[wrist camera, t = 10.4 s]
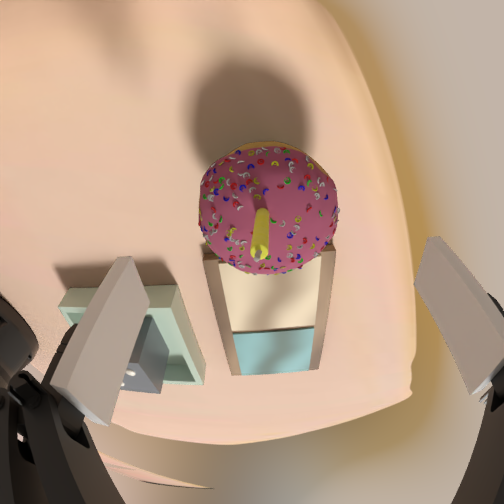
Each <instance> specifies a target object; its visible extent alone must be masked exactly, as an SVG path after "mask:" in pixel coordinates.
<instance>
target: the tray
mask: <svg viewBox="0 0 504 504" xmlns="http://www.w3.org/2000/svg"><path fill="white" fill-rule="evenodd" d="M98 288H99V287H95V288H69V290H68V291H67V293H66V294H65V296H64V297H63V299H62V301H61V302H60V304H59V305H58V308H59V309H60V311H61V313H62V314H63V316H64V317H65V319H66V320H67V322H68V324H69V325H70V327H71V326H72V325H73V324H74V323H77V324H78V323H79V321H80V320H81V318H82V316H83V314H84V312H85V310H86V309H87V307H88V305H89V303H90V302H91V300H92V298H93V296H94V295H95V293H96V291H97V290H98ZM144 289H145V291H146V294H147V296H148V298H149V301H150V304H149V307H148V310H147V312H146V315H145V317H153V318H154V320H155V323H156V325H157V327H158V329H159V331H160V333H161V335H162V337H163V339H164V341H165V343H166V345H167V347H168V349H169V351H170V352H169V356H168V361H167V365H166V370H165V374H164V379H163V383H165V384H184V385H204V378H205V369H206V363H205V361H204V358H203V356H202V353H201V350H200V348H199V345H198V342H197V340H196V337H195V334H194V332H193V329H192V326H191V323H190V320H189V317H188V315H187V312H186V309H185V306H184V303H183V300H182V297H181V294H180V291H179V287H178V285H156V286H144Z"/></svg>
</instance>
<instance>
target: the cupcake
mask: <svg viewBox="0 0 504 504" xmlns="http://www.w3.org/2000/svg"><path fill="white" fill-rule="evenodd" d="M336 191H337V190H336V187H335V184H334V182H333V180H332V179H331V178H330V176H329V175H328V174H327V173H326V171H325V170H324V169H323V168H322V167H321V166H320V165H319V164H318V163H317V162H316V161H315V160H313V159H312V158H311V157H310V156H308V155H307V154H306V153H304V152H303V151H301V150H299V149H297V148H295V147H293V146H290V145H288V144H284V143H280V142H274V141H266V142H254V143H247V144H244V145H242V146H240V147H239V148H237V149H235V150H233V151H232V152H230V153H229V154H228V155H226V156H225V157H223V158H221V159H219V160H217V161H216V162H214V163H213V164H212V165H211V166H210V168H209V169H208V170H207V172H206V173H205V175H204V176H203V179H202V181H201V185H200V198H199V223H198V225H199V226H200V228H201V231H202V232H203V237H205V239H206V245H207V244H208V246H209V247H210V249H211V250H212V251H213V252H215V253H216V254H215V255H216V256H218V257H219V259H220V260H222V261H223V260H224V261H225V262H227V263H228V264H229V265H231V266H233V267H235V268H236V269H238V270H240V271H243V272H245V273H246V274H250V273H252V274H253V275H257V274H267V275H269V274H274V275H278V274H279V273H280V274H281V273H283V274H285V273H286V272H290V271H292V270H294V269H296V268H298V269H302V268H301V267H302V266H303V265H304V264H306V263H307V262H309V261H311V260H312V259H313V258H316V257H317V256H318V255H319V253H320V252H321V251H322V250H323V249H324V247H325V246H326V245H327V244H328V242H329V241H330V239H331V238H332V237H333V235H334V233H335V231H336V227H337V222H338V221H339V220H338V213H339V212H340V209H339V208H338V202H337V192H336ZM338 210H339V211H338ZM284 272H285V273H284Z"/></svg>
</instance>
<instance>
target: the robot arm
mask: <svg viewBox="0 0 504 504" xmlns="http://www.w3.org/2000/svg"><path fill="white" fill-rule="evenodd" d="M414 286H415V287H416V289H417V290H418V292H419V294H420V296H421V297H422V299H423V301H424V303H425V304H426V306H427V308H428V310H429V311H430V313H431V315H432V317H433V319H434V320H435V322H436V324H437V326H438V328H439V330H440V332H441V334H442V335H443V338H444V339H445V341H446V343H447V345H448V347H449V349H450V352H451V354H452V356H453V358H454V360H455V362H456V364H457V366H458V369H459V371H460V373H461V375H462V378H463V380H464V382H465V385H466V387H467V390H468V392H469V394H470V395H472V394H474V393H476V392H479V391H481V390H482V389H484V388H485V387H486V385H487V384H488V383H489V382H490V381H491V382H492V385H493V386H492V387H491V388H490V389H489V390H488V391H487V392H486V393H485V394H484V395H483V396H482V397H481V398H480V401H479V402H482V401H483V400H484V399H485V398H486V397H487V396H488V398H487V400H486V401H485V402H484V404H486V408H485V412H484V416H483V420H482V424H481V428H480V431H479V435H478V438H477V441H476V444H475V447H474V450H473V453H472V456H471V459H470V462H469V465H468V467H467V470H466V472H465V475H464V477H463V480H462V482H461V484H460V487H459V489H458V491H457V493H456V495H455V497H454V499H453V501H452V503H451V504H504V311H503V308H502V307H501V306H500V304H499V303H498V302H497V300H496V299H495V298H494V297H492V296H491V295H490V294H489V293H486V291H485V290H484V289H483V287H482V286H481V285H480V283H479V282H478V281H477V280H476V279H475V277H474V276H473V274H472V273H471V272H470V271H469V270H468V268H467V267H466V266H465V265H464V263H463V262H462V261H461V260H460V259H459V258H458V256H457V255H456V254H455V253H454V252H453V250H452V249H451V248H450V247H449V246H448V245H447V244H446V243H445V242H444V241H443V239H442V238H441V237H440V236H439V237H428V238H427V241H426V245H425V249H424V252H423V256H422V260H421V263H420V266H419V269H418V272H417V276H416V279H415V282H414ZM149 304H150V301H149V298H148V296H147V294H146V291H145V289H144V286H143V284H142V281H141V279H140V276H139V274H138V271H137V268H136V266H135V263H134V260H133V258H132V256H127V257H117V259H116V261H115V262H114V264H113V265H112V267H111V268H110V270H109V272H108V273H107V275H106V276H105V278H104V280H103V281H102V283H101V285H100V286H99V288H98V290H97V291H96V293H95V295H94V296H93V298H92V300H91V302H90V303H89V305H88V307H87V309H86V310H85V312H84V314H83V316H82V318H81V320H80V321H79V323H78V324H77V323H74V324H73V325H72V326H71V327H70V329H69V330H68V331H67V332H66V333H65V335H64V337H63V339H62V341H61V345H59V347H58V349H57V353H55V355H54V357H53V359H52V361H51V363H50V365H49V367H48V369H47V372H46V374H45V376H44V378H43V381H42V382H41V384H40V383H39V382H38V381H37V380H36V379H35V378H34V377H33V376H32V375H31V374H30V373H29V372H28V371H25V370H22V369H23V368H24V367H25V366H26V365H28V364H29V363H30V362H31V361H32V360H33V359H34V357H35V355H36V353H37V351H38V348H39V346H38V342H37V339H36V337H35V335H34V334H33V332H32V331H31V329H30V328H29V326H28V325H27V324H26V322H25V321H24V320H23V319H22V318H21V316H20V315H19V314H18V313H17V312H16V311H15V310H14V309H13V308H12V307H11V306H10V305H9V304H8V303H6V302H5V301H4V300H3V299H2V298H0V504H125V502H124V500H123V499H122V497H121V495H120V494H119V492H118V490H117V488H116V487H115V485H114V483H113V481H112V479H111V478H110V476H109V474H108V472H107V470H106V468H105V466H104V464H103V462H102V460H101V458H100V455H99V453H98V451H97V449H96V447H95V445H94V442H93V440H92V437H91V435H90V433H89V430H88V428H87V426H86V424H85V422H84V421H83V420H84V417H85V416H86V417H87V418H88V419H90V420H91V421H92V422H94V423H98V424H101V425H105V426H110V422H111V419H112V415H113V412H114V408H115V405H116V401H117V398H118V394H119V391H120V388H121V384H122V381H123V378H124V375H125V372H126V369H127V366H128V363H129V360H130V357H131V354H132V351H133V348H134V345H135V342H136V339H137V337H138V334H139V331H140V328H141V326H142V323H143V320H144V317H145V315H146V312H147V310H148V307H149ZM21 370H22V371H21ZM17 433H19V434H20V435H22V436H23V442H21V441H20V440H18V439H17Z"/></svg>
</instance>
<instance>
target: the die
mask: <svg viewBox="0 0 504 504" xmlns="http://www.w3.org/2000/svg"><path fill="white" fill-rule="evenodd" d="M169 352H170V351H169V349H168V347H167V345H166V343H165V341H164V339H163V337H162V335H161V333H160V331H159V329H158V327H157V325H156V323H155V320H154V318H153V317H144V320H143V323H142V326H141V328H140V331H139V334H138V337H137V339H136V342H135V345H134V348H133V351H132V354H131V357H130V360H129V363H128V366H127V369H126V372H125V375H124V378H123V381H122V384H121V388H120V389H121V390H128V391H137V392H146V393H157V394H161V389H162V384H163V379H164V374H165V370H166V365H167V361H168V356H169Z"/></svg>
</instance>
